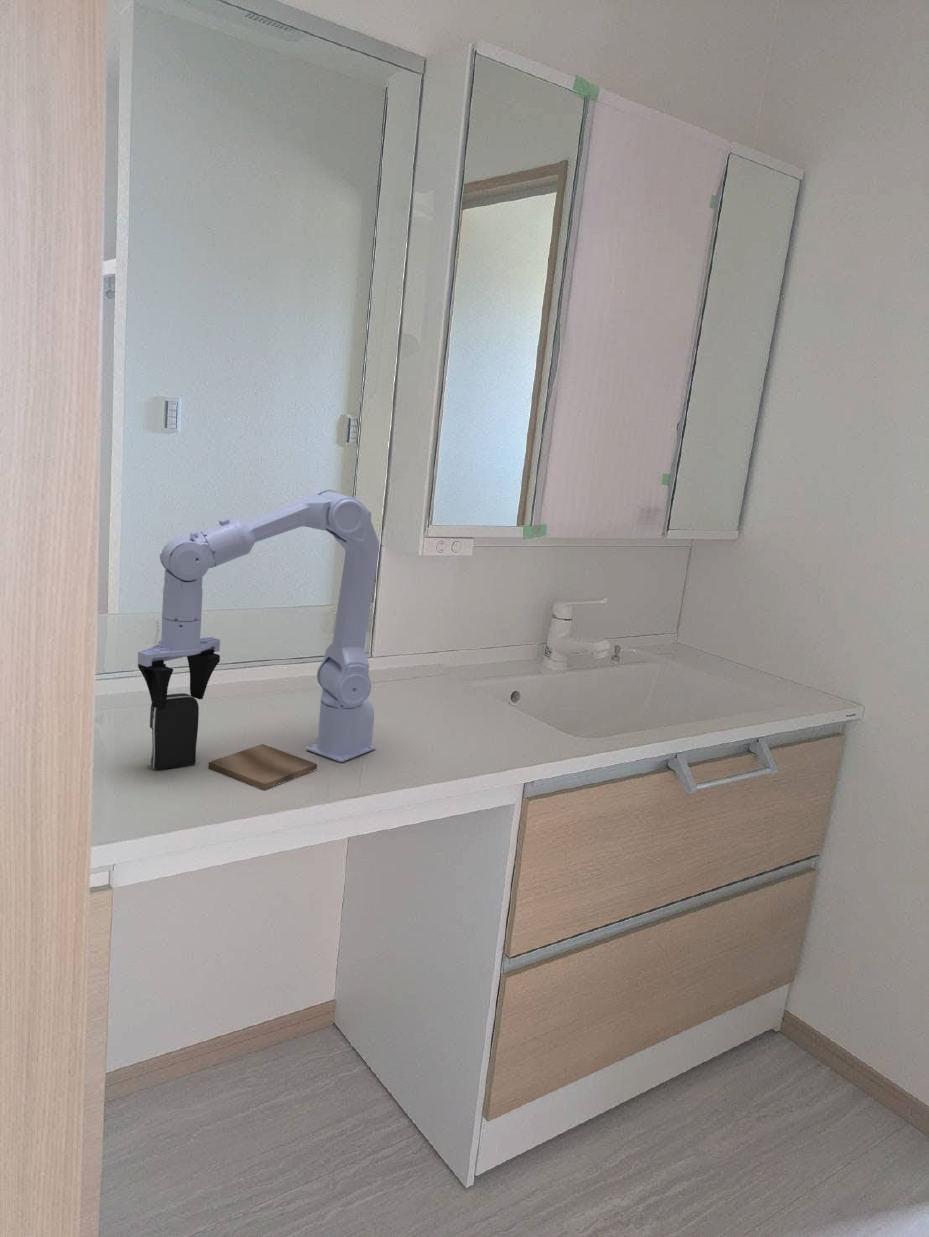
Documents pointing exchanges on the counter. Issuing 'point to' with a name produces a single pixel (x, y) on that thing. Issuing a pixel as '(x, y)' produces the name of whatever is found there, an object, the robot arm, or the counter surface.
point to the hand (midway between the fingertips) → (178, 702)
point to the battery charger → (174, 732)
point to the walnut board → (262, 766)
